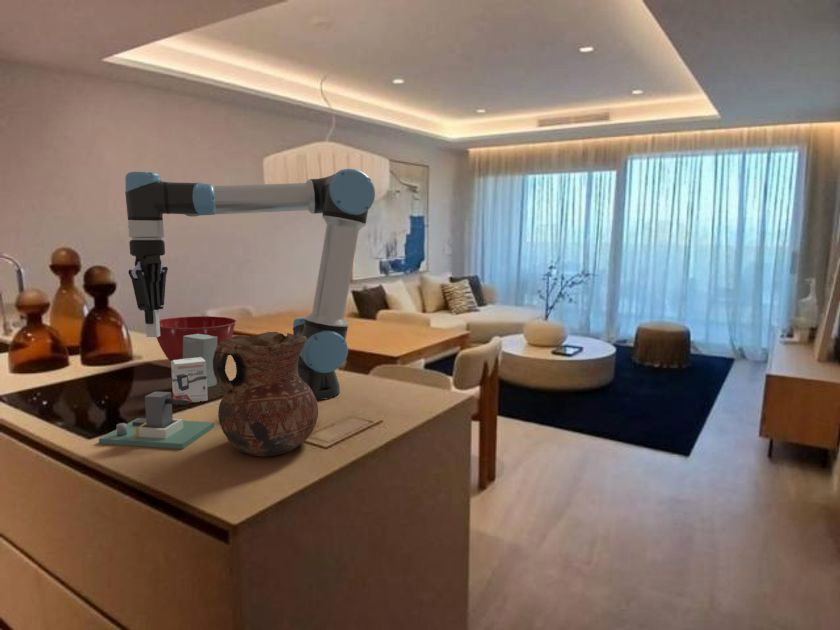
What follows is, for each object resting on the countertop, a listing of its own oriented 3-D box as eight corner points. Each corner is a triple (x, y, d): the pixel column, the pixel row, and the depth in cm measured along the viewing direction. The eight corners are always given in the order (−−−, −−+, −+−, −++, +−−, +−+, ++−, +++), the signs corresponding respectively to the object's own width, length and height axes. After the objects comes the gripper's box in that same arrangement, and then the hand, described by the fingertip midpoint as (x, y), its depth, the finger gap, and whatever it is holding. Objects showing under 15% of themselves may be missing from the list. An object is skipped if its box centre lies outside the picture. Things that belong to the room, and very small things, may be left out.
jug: (264, 423, 137) (261, 325, 133) (336, 436, 129) (335, 332, 125) (197, 455, 117) (191, 341, 113) (277, 473, 109) (274, 350, 105)
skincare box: (181, 386, 168) (179, 336, 166) (199, 381, 175) (196, 332, 172) (203, 390, 165) (200, 338, 163) (220, 384, 172) (218, 334, 169)
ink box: (175, 405, 150) (173, 363, 149) (172, 400, 154) (170, 360, 153) (208, 400, 155) (206, 360, 153) (204, 396, 159) (202, 356, 157)
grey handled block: (195, 430, 128) (193, 393, 127) (186, 436, 124) (184, 398, 123) (155, 428, 129) (152, 391, 128) (144, 434, 125) (142, 396, 124)
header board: (214, 427, 134) (213, 413, 133) (182, 449, 120) (181, 433, 120) (138, 422, 136) (137, 408, 136) (99, 443, 123) (97, 428, 122)
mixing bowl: (219, 351, 219) (217, 313, 217) (250, 364, 199) (249, 322, 196) (143, 361, 200) (140, 319, 198) (169, 376, 180) (167, 330, 177)
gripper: (147, 238, 137) (153, 331, 140) (114, 239, 124) (122, 341, 127) (176, 238, 136) (181, 332, 140) (146, 239, 123) (153, 342, 127)
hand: (153, 336), depth 133 cm, fingers closed
